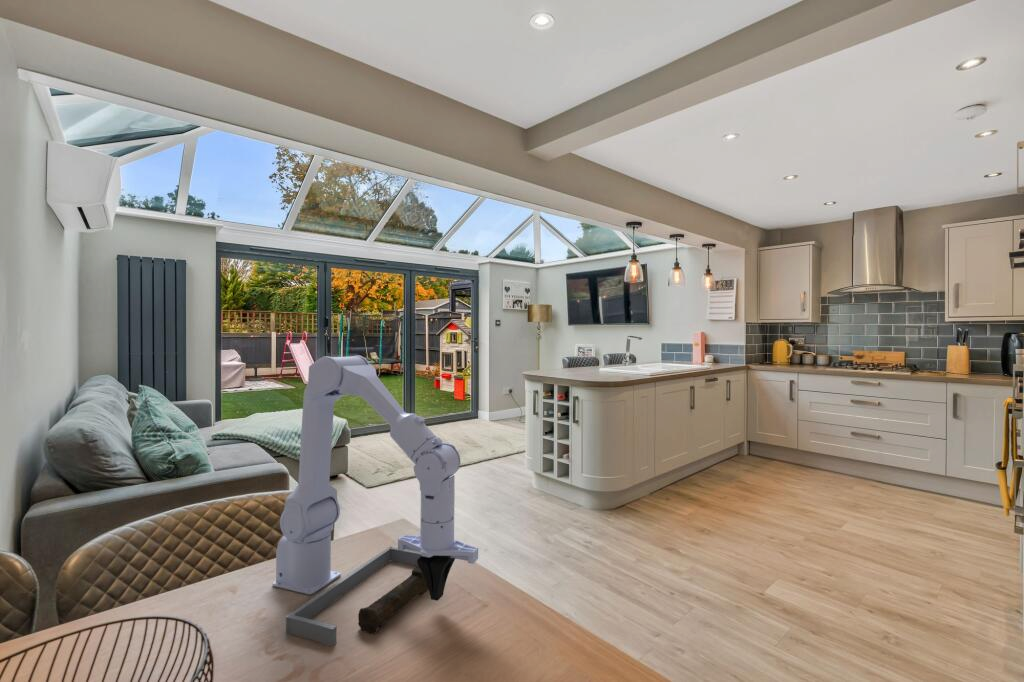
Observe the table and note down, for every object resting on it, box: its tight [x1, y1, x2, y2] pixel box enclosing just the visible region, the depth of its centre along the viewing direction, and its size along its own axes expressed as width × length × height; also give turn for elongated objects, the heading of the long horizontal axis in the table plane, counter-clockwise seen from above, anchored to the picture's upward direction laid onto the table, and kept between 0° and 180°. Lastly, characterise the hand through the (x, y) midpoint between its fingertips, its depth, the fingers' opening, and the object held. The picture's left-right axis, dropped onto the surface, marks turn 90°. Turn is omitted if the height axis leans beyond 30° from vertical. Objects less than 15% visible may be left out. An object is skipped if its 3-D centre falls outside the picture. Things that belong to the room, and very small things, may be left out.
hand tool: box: [357, 566, 429, 635], centre depth 83 cm, size 19×4×5 cm, turn 153°
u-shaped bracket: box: [285, 546, 421, 647], centre depth 86 cm, size 9×28×2 cm, turn 159°
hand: (436, 597), depth 81 cm, fingers closed
